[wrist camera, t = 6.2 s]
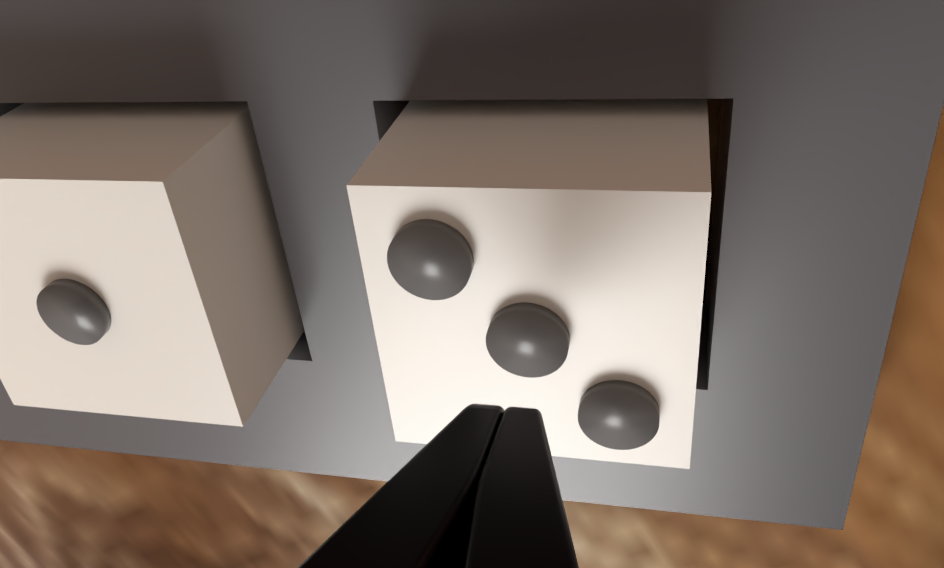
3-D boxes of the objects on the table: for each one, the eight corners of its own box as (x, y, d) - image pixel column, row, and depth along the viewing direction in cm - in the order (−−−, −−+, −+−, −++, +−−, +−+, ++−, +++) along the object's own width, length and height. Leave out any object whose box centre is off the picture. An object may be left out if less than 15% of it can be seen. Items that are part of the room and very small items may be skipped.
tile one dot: (259, 98, 13) (155, 188, 11) (312, 318, 16) (237, 435, 13) (29, 100, 14) (-117, 182, 12) (112, 306, 17) (6, 412, 14)
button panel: (949, -199, 10) (1011, -181, 8) (824, 431, 16) (842, 529, 14) (-406, -89, 16) (-565, -62, 14) (-131, 353, 22) (-214, 417, 20)
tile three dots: (707, 95, 12) (711, 200, 9) (690, 340, 14) (689, 479, 11) (411, 98, 13) (340, 193, 10) (443, 326, 15) (391, 450, 12)
